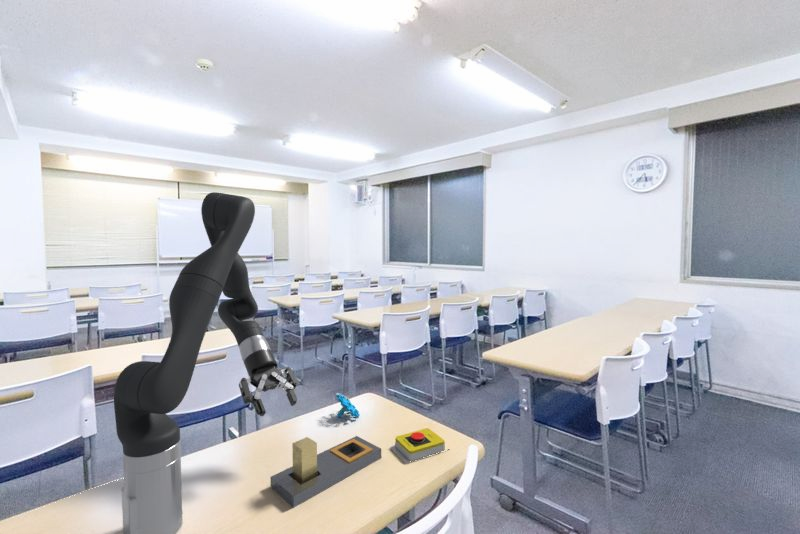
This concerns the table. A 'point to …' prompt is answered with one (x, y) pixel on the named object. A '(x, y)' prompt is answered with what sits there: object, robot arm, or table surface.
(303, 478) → the brass peg
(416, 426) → the table surface
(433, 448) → the emergency button
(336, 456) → the peg board
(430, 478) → the table surface
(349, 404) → the gear
